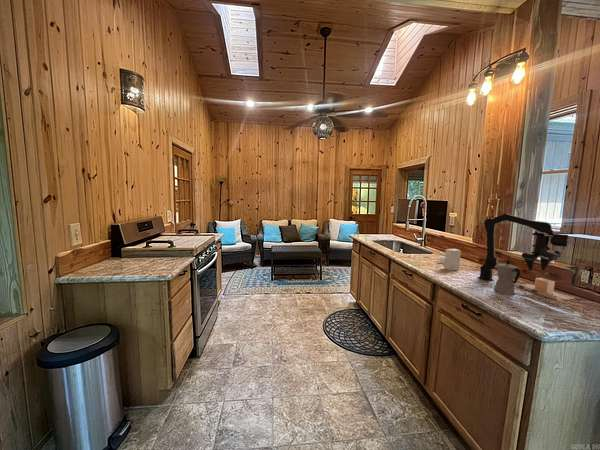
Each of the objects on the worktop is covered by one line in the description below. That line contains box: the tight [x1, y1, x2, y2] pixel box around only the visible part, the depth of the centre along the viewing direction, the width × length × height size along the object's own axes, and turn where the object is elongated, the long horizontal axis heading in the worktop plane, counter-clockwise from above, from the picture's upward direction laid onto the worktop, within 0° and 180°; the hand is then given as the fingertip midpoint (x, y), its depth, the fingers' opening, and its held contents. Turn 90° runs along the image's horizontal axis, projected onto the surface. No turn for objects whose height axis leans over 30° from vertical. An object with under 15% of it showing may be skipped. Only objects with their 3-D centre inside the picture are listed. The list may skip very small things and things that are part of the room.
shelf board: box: [514, 282, 574, 301], centre depth 149 cm, size 14×22×3 cm, turn 14°
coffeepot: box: [493, 260, 521, 296], centre depth 147 cm, size 15×9×18 cm, turn 179°
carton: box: [534, 277, 556, 294], centre depth 148 cm, size 4×6×7 cm
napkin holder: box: [437, 256, 445, 264], centre depth 210 cm, size 15×11×6 cm
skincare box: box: [443, 248, 462, 272], centre depth 192 cm, size 8×6×15 cm
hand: (536, 270), depth 154 cm, fingers open, 9 cm apart
